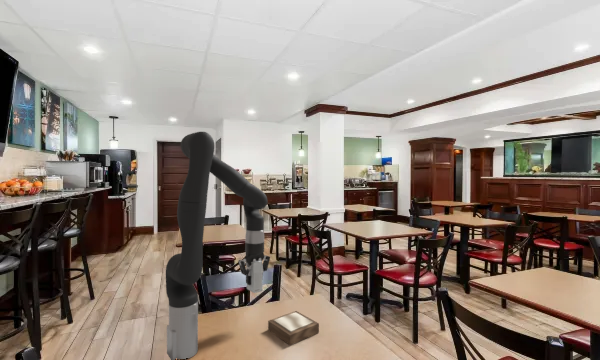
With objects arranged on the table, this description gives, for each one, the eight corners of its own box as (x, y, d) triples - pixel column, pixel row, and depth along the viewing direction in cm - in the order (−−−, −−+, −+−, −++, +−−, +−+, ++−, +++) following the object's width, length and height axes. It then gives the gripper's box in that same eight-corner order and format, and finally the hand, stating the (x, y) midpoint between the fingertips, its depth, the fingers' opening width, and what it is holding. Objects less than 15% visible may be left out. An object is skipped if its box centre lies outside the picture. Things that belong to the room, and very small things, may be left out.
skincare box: (263, 291, 123) (263, 261, 123) (253, 293, 120) (253, 262, 120) (255, 286, 128) (255, 257, 128) (245, 289, 125) (245, 259, 125)
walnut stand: (289, 345, 110) (290, 334, 109) (268, 329, 120) (268, 319, 120) (318, 332, 118) (318, 322, 118) (296, 319, 129) (296, 309, 129)
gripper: (243, 244, 116) (243, 290, 117) (274, 240, 126) (274, 282, 126) (234, 241, 122) (233, 284, 122) (264, 237, 131) (264, 277, 131)
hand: (254, 283), depth 124 cm, fingers closed on skincare box, 4 cm apart
